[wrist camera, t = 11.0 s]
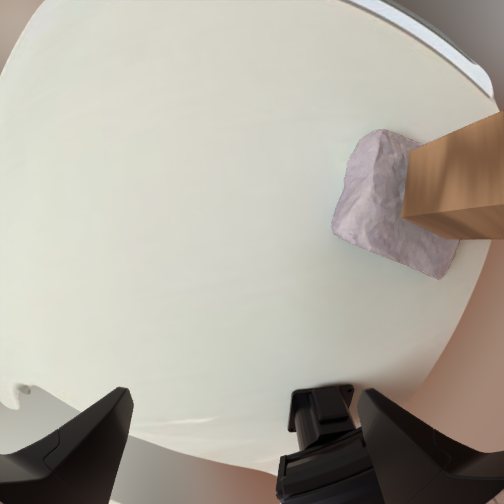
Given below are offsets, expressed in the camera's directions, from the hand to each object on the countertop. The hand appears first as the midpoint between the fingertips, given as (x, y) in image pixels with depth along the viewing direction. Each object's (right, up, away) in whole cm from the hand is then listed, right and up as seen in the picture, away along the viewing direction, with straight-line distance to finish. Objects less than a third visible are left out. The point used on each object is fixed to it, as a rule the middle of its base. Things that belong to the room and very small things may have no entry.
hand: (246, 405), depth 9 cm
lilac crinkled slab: (+13, +10, +12) cm, 20 cm away
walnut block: (+13, +10, +8) cm, 18 cm away
